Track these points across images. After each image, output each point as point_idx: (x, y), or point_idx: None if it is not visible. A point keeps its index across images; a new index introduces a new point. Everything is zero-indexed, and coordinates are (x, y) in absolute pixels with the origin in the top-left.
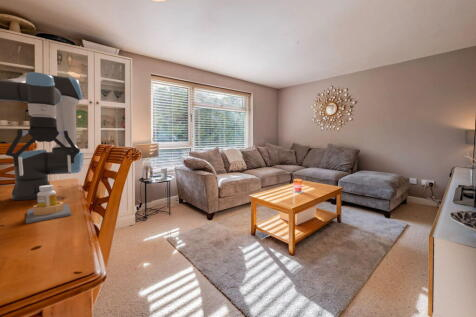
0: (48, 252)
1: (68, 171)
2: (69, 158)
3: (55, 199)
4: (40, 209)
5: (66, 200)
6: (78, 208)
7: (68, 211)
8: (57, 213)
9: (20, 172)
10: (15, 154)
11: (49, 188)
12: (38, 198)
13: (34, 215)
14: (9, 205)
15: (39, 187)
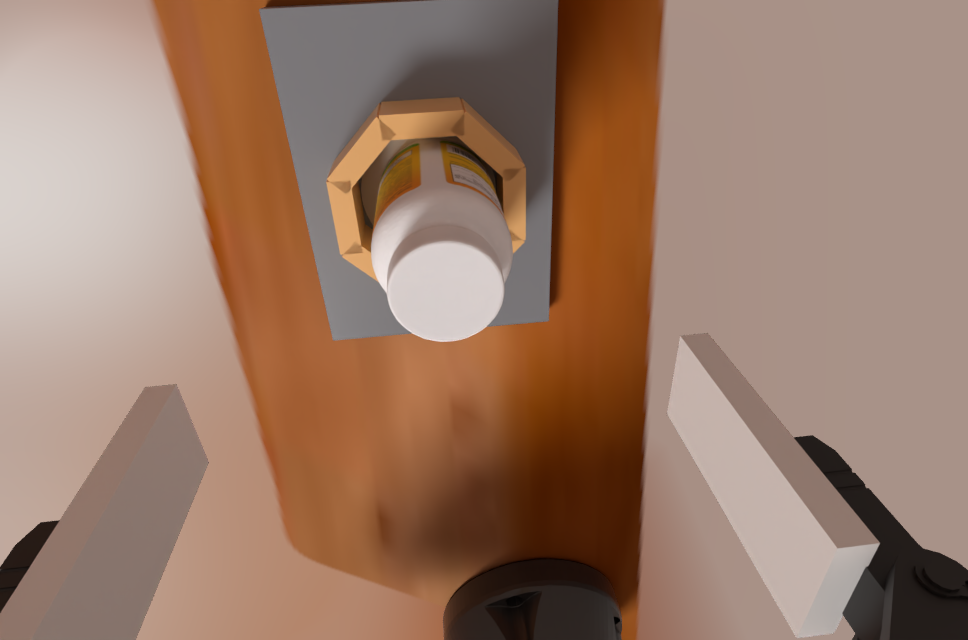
0: None
1: (198, 438)
2: (35, 591)
3: (378, 202)
4: (477, 118)
5: (359, 465)
6: (244, 207)
7: (287, 75)
8: (364, 66)
9: (719, 358)
10: (965, 604)
11: (416, 238)
12: (499, 208)
13: (511, 120)
14: (624, 495)
15: (501, 272)
